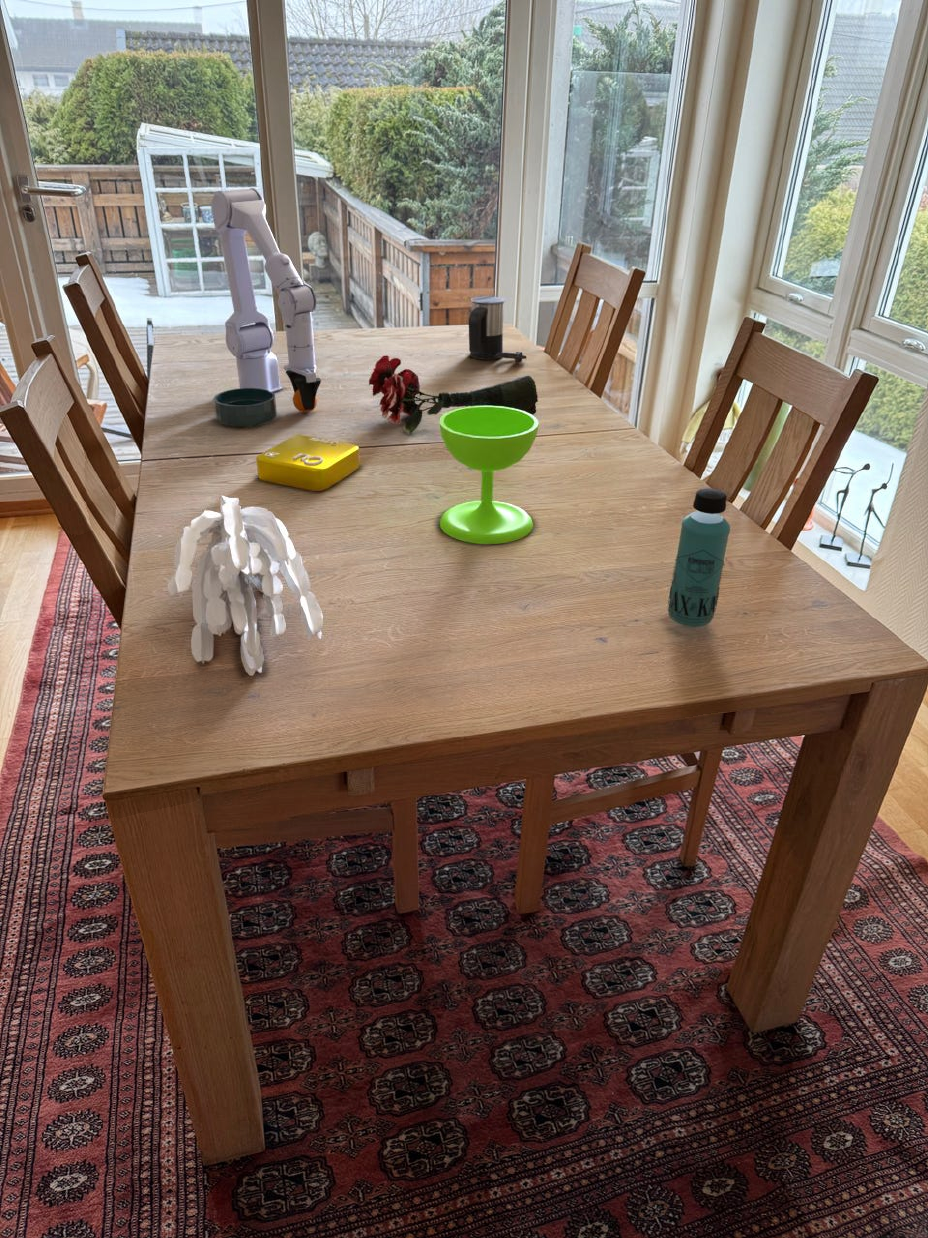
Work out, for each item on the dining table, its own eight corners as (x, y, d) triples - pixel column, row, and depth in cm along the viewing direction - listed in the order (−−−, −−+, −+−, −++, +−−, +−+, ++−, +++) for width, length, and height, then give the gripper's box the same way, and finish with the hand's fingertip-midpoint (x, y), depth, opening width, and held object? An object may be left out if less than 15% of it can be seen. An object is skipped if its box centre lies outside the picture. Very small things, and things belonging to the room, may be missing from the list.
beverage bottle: (659, 613, 130) (678, 482, 120) (705, 612, 131) (727, 481, 121) (672, 638, 125) (693, 502, 115) (720, 636, 125) (744, 501, 115)
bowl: (246, 406, 209) (243, 384, 206) (289, 416, 203) (287, 394, 200) (204, 421, 199) (200, 399, 197) (248, 432, 194) (245, 409, 191)
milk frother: (472, 350, 252) (472, 294, 245) (529, 353, 250) (531, 296, 243) (465, 364, 240) (465, 306, 232) (524, 367, 238) (527, 308, 231)
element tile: (363, 466, 178) (362, 442, 175) (321, 493, 166) (319, 468, 164) (298, 453, 183) (296, 430, 181) (253, 479, 172) (251, 455, 169)
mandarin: (304, 406, 209) (302, 381, 206) (323, 410, 207) (321, 385, 204) (288, 412, 205) (286, 387, 202) (307, 417, 203) (305, 391, 200)
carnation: (522, 447, 209) (373, 454, 199) (506, 377, 215) (359, 381, 204) (545, 409, 195) (386, 415, 185) (527, 336, 200) (371, 338, 190)
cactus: (147, 511, 136) (132, 627, 107) (244, 440, 134) (255, 539, 105) (223, 589, 145) (228, 716, 116) (314, 523, 143) (343, 636, 114)
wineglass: (466, 551, 147) (467, 444, 137) (423, 514, 159) (422, 413, 149) (551, 532, 153) (557, 429, 144) (503, 498, 165) (507, 400, 156)
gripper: (274, 338, 202) (279, 398, 209) (290, 354, 191) (296, 417, 198) (305, 335, 205) (309, 394, 212) (323, 351, 194) (327, 413, 201)
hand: (305, 405), depth 205 cm, fingers closed on mandarin, 5 cm apart
